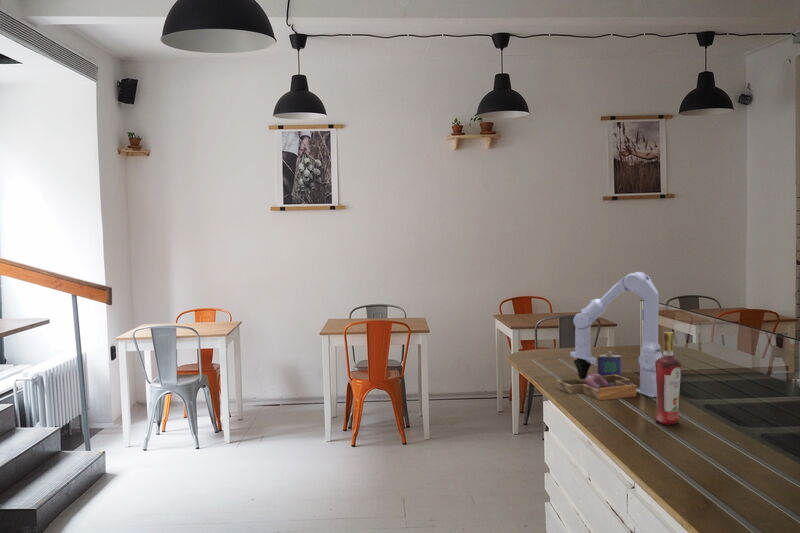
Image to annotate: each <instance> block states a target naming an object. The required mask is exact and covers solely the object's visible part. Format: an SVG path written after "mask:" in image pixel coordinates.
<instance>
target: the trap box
mask: <svg viewBox="0 0 800 533" xmlns="http://www.w3.org/2000/svg"><path fill="white" fill-rule="evenodd" d="M602 378H603V379H605V380H606V381H607V382H608V384H609V386H608V387H599V390H598V389H595V388H593V387H590V386H588V385H587V384H586V383H579V384H578V383H577V384H574V379H573V378H565V379H556V382H555V383H556V386H555V387H556V389H557V390H560V391H562V392H564V393H566V394H568V395H574V394H575V395H576V394H585V395H587V396H589V397H592V398H594V399H597V400H599V401H606V400H616V399H624V398H631V397H633V398H634V397H637V393H638V392H637V389H638V388H637V384H631V379H630V378H626V377H624V376H622V375H621V376H618V375H616V374H615V375H605V376H602Z"/></svg>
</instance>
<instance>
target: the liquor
mask: <svg viewBox="0 0 800 533" xmlns="http://www.w3.org/2000/svg"><path fill="white" fill-rule="evenodd" d="M663 340H664V343H663V344H664V345H663V353H662V355H663V357H662V358H659V359H658V360H656V361H655V365H656V389H657V397H656V415H655V420H657V421H658V422H659V423H660V424H662V425H665V426H666V425H667V426H673V425H676V424H677V423H678V422H679V421H680V418H679V404H680V403H679V401H680V388H681V386H680V385H681V372H682V362H681V361H680V360H679V359H676V358H675V357H674V347H673V342H674V341H673V340H674V332H673V331H664V332H663Z"/></svg>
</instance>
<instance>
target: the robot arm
mask: <svg viewBox="0 0 800 533" xmlns="http://www.w3.org/2000/svg"><path fill="white" fill-rule="evenodd" d="M628 291H630V292H633V293H636V294H637V296H639V297H640V298H642V299H643V311H642V312H643V314H642V316H643V318H642V319H643V326H642V329H643V330H642V331H643V332H642V333H643V335H642V337H643V338H642V345H641V348H640V350H641V352H640V355H639V356H638V360H637V361H638V364H639V389H638V388H637V393H639V394H641V395H645V396H647V397H650V398H657V389H656V365H655V361H656V360H658V359H659V358H662V357H663V353H662V351H661V345H660V342H659V308H660V307H659V300H660V299H659V295H660V294H659V291H658V290H657V288H656V287H655V284H653V282H652V280H651V277H650V276H649V275H647V274H646V273H645V272H643V271H635V272H631V273H628V274H626V275H625V277H623V278H621V279H620V280H619V281H617V282H616V283H615V284H614V285H613V286H612V287H610V289H609V290H608V291H607V292H606V293H605V294H604V295H602V297H601V298H595V299H591V300H590V301H589V304H588V305H587V306H585V308H582V309H580V311H581V312H579V313H575V316H574V317H573V318H572V319H573V320H572V321H573V322H572V323H573V325H574V326H575V331H574V332H575V333H574V335H575V336H574V338H575V339H574V341H575V342H574V343H575V344H574V345H575V346H574V350H575V351H570V352H569V356H570V357H571V358H575V359H574V360H573V363H574V365H575V367H576V369H577V373H578V378H579V379H580V380H585V378H586V377H587V376H588V373H589V369H590V368H591V366H592V365H594V364H595V365H596V364H597V358H596V357H594V356H593V355H592V352H591V351H592V350H591V348H592V342H591V339H592V337H591V336H592V333H591V332H592V331H591V326H592V325H593V324H594V321H596V320H597V319H598V318H599V317H600V316H601V315H603V313H605V312H606V311H607V305H608V304H610V303H611V302H612V301H613V300H614V299H616V298H617V297H618V296H620V295H621V294H622V293H624V292H628Z"/></svg>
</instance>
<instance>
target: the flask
mask: <svg viewBox="0 0 800 533" xmlns="http://www.w3.org/2000/svg"><path fill="white" fill-rule="evenodd" d="M597 373H598V374H600V375H601V376H605V375H615V374H616V375H618V376H621V377H622V356H621V355H618V354H617V355H616V354H615V355H614V354H613V352H612V351H608V353H606V354H605V353H604V354H601V355H598V356H597Z"/></svg>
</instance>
